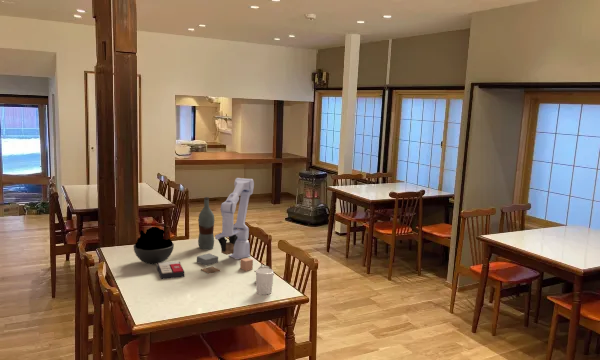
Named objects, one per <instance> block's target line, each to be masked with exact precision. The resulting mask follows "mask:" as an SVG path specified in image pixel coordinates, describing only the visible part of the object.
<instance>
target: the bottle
mask: <svg viewBox="0 0 600 360" xmlns="http://www.w3.org/2000/svg"><path fill="white" fill-rule="evenodd" d="M203 200H204V201H203V203H204V204H203V205H204V206H203V208H202V209H201V211H200V213H199V214H198V221H197V222H198V230H199V231H198V240H197V243H198V248H199V249H200V250H205V251H206V250H211V249H213V248H214V246H215V236H214V228H215V215H214V212H213V211H212V209H211V208H210V207H209V206H210V197H207V196H206V197H204V198H203Z"/></svg>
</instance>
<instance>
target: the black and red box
mask: <svg viewBox="0 0 600 360" xmlns="http://www.w3.org/2000/svg"><path fill="white" fill-rule="evenodd" d="M156 271H157V272H158V274H159V277H160V279H161V280H168V279H178V278H184V277H185V270H184V268H183V266H182V264H181V261H179V260H175V261H173V260H172V261H163V262H162V263H157V264H156Z"/></svg>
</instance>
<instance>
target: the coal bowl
mask: <svg viewBox="0 0 600 360" xmlns="http://www.w3.org/2000/svg"><path fill="white" fill-rule="evenodd" d="M165 232H166V231H165V230H164V229H162V228H160V227H158V226H151V227H150V228H148V229H146V232H144V231H143V230H140V233H139V237H138V238H137V240H136V242H135V243H134V244H133V251H134V255H135V256H136V257H137V258H138V259H139V260H140V261H141V262H143V263H144V264H148V265H157V263H162V262H166V261H167V259H169V257H170V256H171V255H172V253H173V251H174V247H175V246H174V245H175V244H174V242H173V241H172V239H170V238H169V239H166V238H165Z"/></svg>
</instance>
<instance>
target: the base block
mask: <svg viewBox="0 0 600 360" xmlns="http://www.w3.org/2000/svg"><path fill="white" fill-rule="evenodd" d="M196 263H198V264H201V265H203V266H210V265H214V264H217V263H219V256H217V255H215V254H212V253H205V254H200V255H197V256H196Z"/></svg>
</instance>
